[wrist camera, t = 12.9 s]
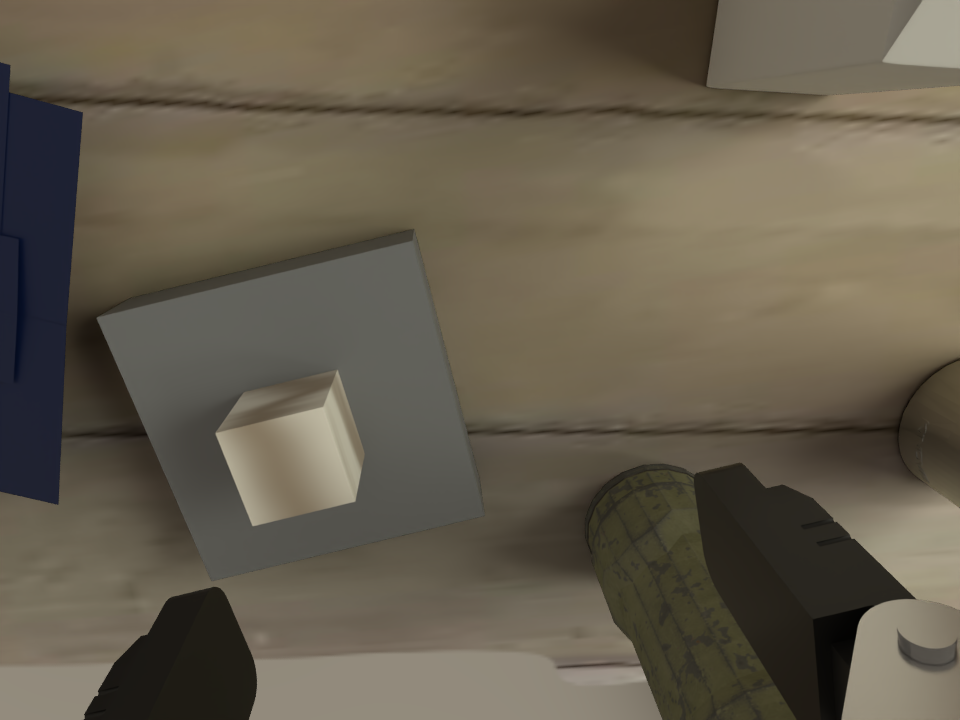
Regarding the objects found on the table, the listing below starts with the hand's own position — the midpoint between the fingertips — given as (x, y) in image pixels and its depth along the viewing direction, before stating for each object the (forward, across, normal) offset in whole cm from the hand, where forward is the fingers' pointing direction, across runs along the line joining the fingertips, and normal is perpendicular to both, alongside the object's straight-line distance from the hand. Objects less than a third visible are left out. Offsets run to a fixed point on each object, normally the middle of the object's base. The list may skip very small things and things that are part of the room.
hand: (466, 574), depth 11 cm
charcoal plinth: (+28, +9, +6) cm, 30 cm away
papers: (+29, +32, -9) cm, 44 cm away
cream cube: (+24, +9, +6) cm, 26 cm away
